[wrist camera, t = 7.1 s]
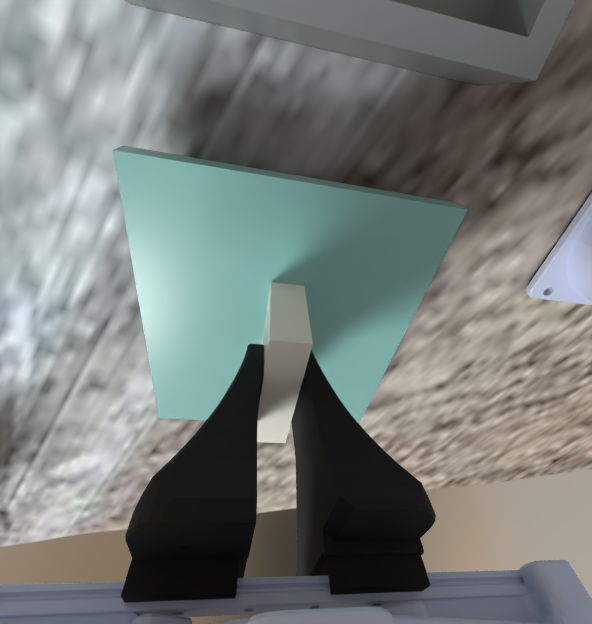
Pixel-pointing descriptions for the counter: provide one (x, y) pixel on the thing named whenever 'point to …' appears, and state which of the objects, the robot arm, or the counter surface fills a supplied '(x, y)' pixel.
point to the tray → (403, 31)
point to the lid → (272, 279)
